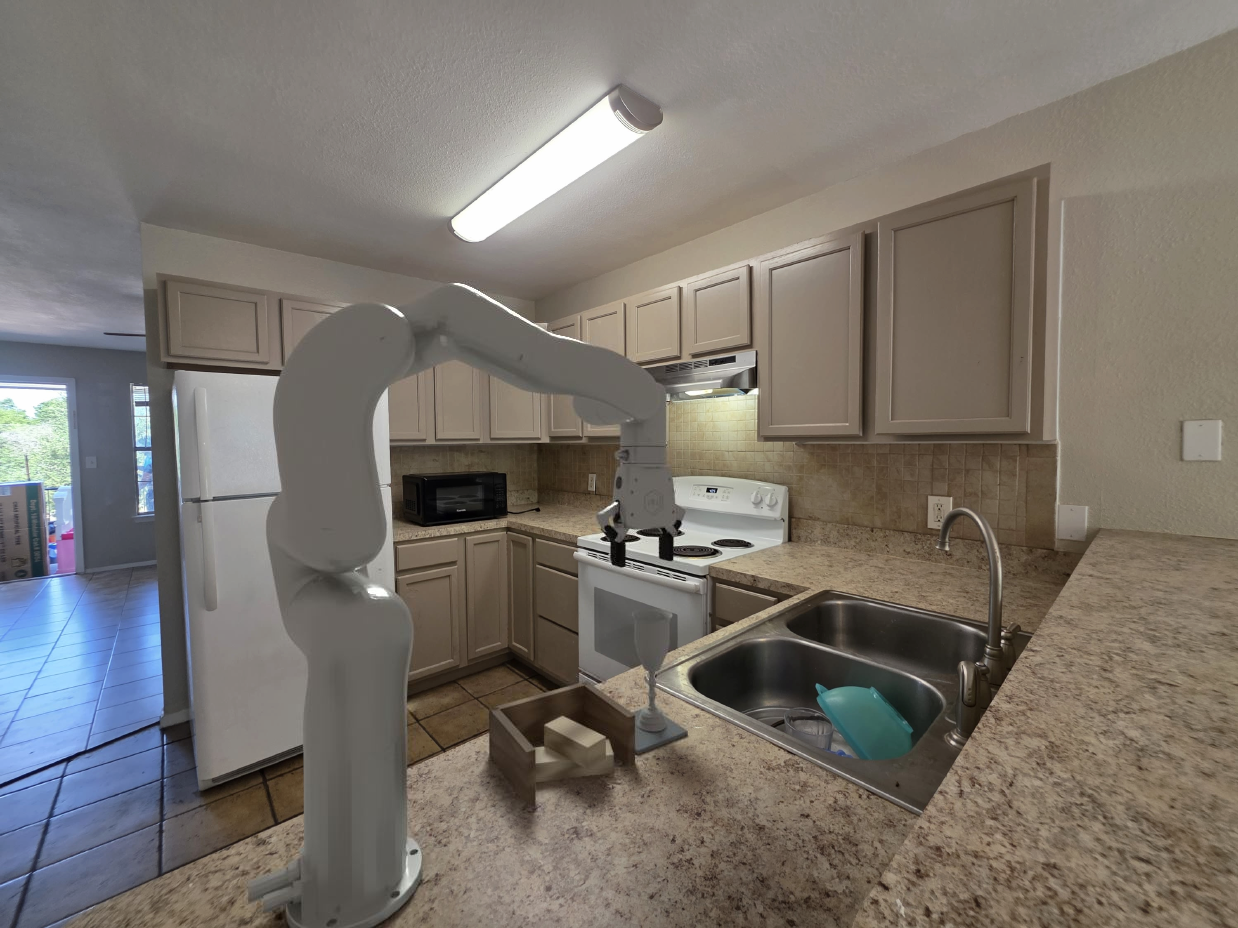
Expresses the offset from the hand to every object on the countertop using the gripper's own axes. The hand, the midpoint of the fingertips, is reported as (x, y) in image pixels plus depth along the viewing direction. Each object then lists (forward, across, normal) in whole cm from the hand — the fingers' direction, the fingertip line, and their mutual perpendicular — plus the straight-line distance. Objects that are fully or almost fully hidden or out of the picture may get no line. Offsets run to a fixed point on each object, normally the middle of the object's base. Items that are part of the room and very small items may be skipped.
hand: (642, 562), depth 83 cm
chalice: (+27, +2, 0) cm, 27 cm away
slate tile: (+28, 0, 0) cm, 28 cm away
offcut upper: (+25, -14, -3) cm, 29 cm away
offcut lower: (+28, -14, -3) cm, 32 cm away
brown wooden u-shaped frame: (+28, -15, +1) cm, 31 cm away
